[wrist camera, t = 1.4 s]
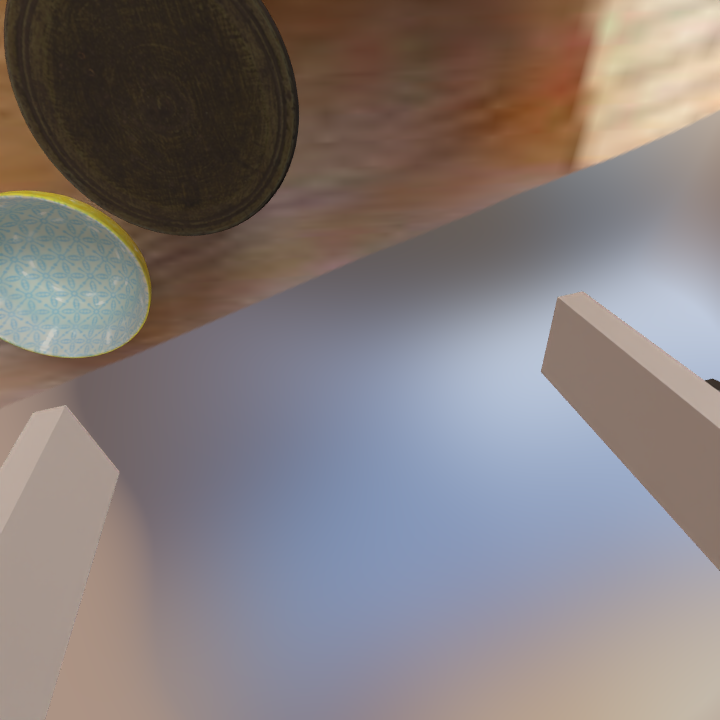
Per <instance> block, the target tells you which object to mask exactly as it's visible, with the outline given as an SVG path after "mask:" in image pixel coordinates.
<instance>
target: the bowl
mask: <svg viewBox="0 0 720 720" xmlns="http://www.w3.org/2000/svg"><path fill="white" fill-rule="evenodd" d="M150 303H151V281H150V276H149V272H148V269H147V265H146V262H145V259H144V257H143V255H142V253H141V252H140V250H139V249H138V247H137V245H136V244H135V242H134V241H133V240H132V239H131V237H130V236H129V235H128V234H127V233H126V231H125V230H123V229H122V228H121V227H120V226H119V225H118V224H117V223H116V222H115V221H113V220H112V219H111V218H110V217H108V216H107V215H105V214H104V213H102V212H101V211H99V210H97V209H95V208H94V207H92V206H90V205H88V204H86V203H84V202H81V201H78V200H76V199H73V198H71V197H67V196H64V195H59V194H54V193H48V192H40V191H11V192H4V193H0V339H2V340H4V341H6V342H8V343H10V344H12V345H15V346H17V347H20V348H22V349H25V350H28V351H31V352H35V353H38V354H43V355H47V356H53V357H63V358H85V357H92V356H98V355H102V354H105V353H108V352H111V351H113V350H116V349H118V348H119V347H121V346H123V345H124V344H126V343H128V342H129V341H130V340H131V339H132V338H134V337H135V335H136V334H137V333H138V332H139V331H140V330H141V328H142V327H143V325H144V323H145V321H146V319H147V316H148V313H149V309H150Z"/></svg>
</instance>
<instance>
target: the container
mask: <svg viewBox="0 0 720 720" xmlns="http://www.w3.org/2000/svg"><path fill="white" fill-rule="evenodd" d="M4 48H5V57H6V64H7V69H8V74H9V78H10V82H11V86H12V89H13V92H14V95H15V98H16V100H17V103H18V106H19V108H20V111H21V113H22V115H23V117H24V119H25V122H26V124H27V125H28V127H29V129H30V131H31V133H32V134H33V136H34V138H35V139H36V141H37V143H38V144H39V146H40V147H41V149H42V150H43V151H44V153H45V154H46V155H47V157H48V158H49V159H50V161H51V162H52V163H53V164H54V166H55V167H56V168H57V169H58V170H59V171H60V172H61V173H62V174H63V175H64V176H65V178H66V179H67V180H68V181H69V182H71V183H72V184H73V185H74V186H75V187H76V188H77V189H78V190H79V191H80V192H81V193H83V194H84V195H85V196H86V197H88V198H89V199H90V200H91V201H93V202H94V203H96V204H97V205H99V206H100V207H102V208H103V209H105V210H106V211H108V212H110V213H111V214H113V215H115V216H117V217H119V218H121V219H123V220H125V221H127V222H129V223H132V224H134V225H137V226H140V227H142V228H145V229H149V230H152V231H156V232H160V233H165V234H171V235H182V236H195V235H206V234H212V233H216V232H220V231H223V230H227V229H230V228H232V227H234V226H237V225H239V224H241V223H242V222H244V221H246V220H248V219H249V218H251V217H252V216H253V215H255V214H256V213H257V212H258V211H260V210H261V209H262V208H263V207H264V206H265V205H266V204H267V203H268V202H269V201H270V199H271V198H272V197H273V196H274V194H275V193H276V192H277V190H278V189H279V187H280V186H281V184H282V182H283V180H284V178H285V176H286V174H287V172H288V169H289V167H290V164H291V161H292V158H293V155H294V151H295V147H296V141H297V135H298V125H299V105H298V95H297V88H296V82H295V77H294V73H293V69H292V65H291V62H290V59H289V56H288V53H287V50H286V47H285V45H284V42H283V40H282V37H281V35H280V33H279V31H278V29H277V27H276V25H275V23H274V21H273V19H272V17H271V15H270V14H269V12H268V10H267V9H266V7H265V6H264V4H263V2H262V1H261V0H7V4H6V11H5V20H4Z"/></svg>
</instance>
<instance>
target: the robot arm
mask: <svg viewBox="0 0 720 720" xmlns="http://www.w3.org/2000/svg"><path fill="white" fill-rule="evenodd" d="M541 372H542V373H543V375H544V376H545V377H546V378H547V379H548V380H549V381H550V382H551V383H552V385H553V386H554V387H555V388H556V389H557V390H558V391H559V392H560V393H561V395H562V396H563V397H564V398H565V399H566V400H567V401H568V402H569V404H570V405H571V406H572V407H573V408H574V409H575V410H576V411H577V412H578V413H579V415H580V416H581V417H582V418H583V419H584V420H585V421H586V422H587V424H589V426H590V427H591V428H592V429H593V430H594V431H595V432H596V434H597V435H598V436H599V437H600V438H601V439H602V440H603V441H604V443H605V444H606V445H607V446H608V447H609V448H610V449H611V450H612V451H613V453H614V454H615V455H616V456H617V457H618V458H619V459H620V460H621V461H622V463H623V464H624V465H625V466H626V467H627V468H628V469H629V470H630V471H631V473H632V474H633V475H634V476H635V477H636V478H637V479H638V480H639V481H640V483H641V484H642V485H643V486H644V487H645V488H646V489H647V490H648V491H649V493H650V494H651V495H652V496H653V497H654V498H655V499H656V500H657V501H658V503H659V504H660V505H661V506H662V507H663V508H664V509H665V510H666V511H667V513H668V514H669V515H670V516H671V517H672V518H673V519H674V520H675V522H676V523H677V524H678V525H679V526H680V527H681V528H682V529H683V530H684V532H685V533H686V534H687V535H688V536H689V537H690V538H691V539H692V540H693V542H694V543H695V544H696V545H697V546H698V547H699V548H700V549H701V551H702V552H703V553H704V554H705V555H706V556H707V557H708V558H709V559H710V561H711V562H712V563H713V564H714V565H715V566H716V567H717V568H718V569H719V571H720V382H719V381H716V380H714V379H709V380H705V381H704V380H703V379H701V378H700V377H699V376H697V375H696V374H695V373H693V372H692V371H690V370H689V369H688V368H686V367H685V366H684V365H682V364H681V363H680V362H678V361H677V360H675V359H674V358H673V357H671V356H670V355H669V354H667V353H666V352H665V351H663V350H662V349H661V348H659V347H658V346H656V345H655V344H654V343H652V342H651V341H649V340H648V339H647V338H646V337H644V336H643V335H641V334H640V333H639V332H637V331H636V330H635V329H633V328H632V327H631V326H629V325H628V324H626V323H625V322H624V321H622V320H621V319H620V318H618V317H617V316H616V315H614V314H613V313H611V312H610V311H609V310H607V309H606V308H605V307H603V306H602V305H601V304H599V303H598V302H596V301H595V300H593V299H592V298H591V297H590V296H588V295H587V294H586V293H584V292H579V293H574V294H570V295H565V296H561V297H558V298H557V302H556V307H555V311H554V316H553V320H552V325H551V330H550V334H549V338H548V343H547V348H546V351H545V356H544V361H543V365H542V369H541ZM119 473H120V472H119V471H118V469H117V468H116V467H115V466H114V464H113V463H112V462H111V461H110V459H109V458H108V457H107V456H106V454H105V453H104V452H103V451H102V450H101V448H100V447H99V446H98V444H97V443H96V442H95V441H94V439H93V438H92V437H91V436H90V434H89V433H88V432H87V431H86V429H85V428H84V427H83V426H82V424H81V423H80V422H79V421H78V420H77V418H76V417H75V416H74V414H73V413H72V412H71V411H70V409H69V408H68V407H67V406H66V405H65V406H60V407H55V408H51V409H46V410H42V411H37V412H33V414H32V416H31V417H30V419H29V421H28V422H27V424H26V426H25V428H24V429H23V431H22V433H21V434H20V436H19V438H18V439H17V441H16V443H15V445H14V446H13V448H12V450H11V452H10V453H9V455H8V457H7V458H6V460H5V462H4V464H3V465H2V467H1V469H0V720H45V718H46V715H47V712H48V709H49V705H50V702H51V698H52V695H53V692H54V689H55V685H56V682H57V679H58V675H59V672H60V669H61V665H62V662H63V659H64V655H65V652H66V649H67V646H68V642H69V639H70V635H71V632H72V629H73V626H74V622H75V619H76V615H77V612H78V609H79V606H80V602H81V599H82V596H83V592H84V589H85V586H86V582H87V579H88V576H89V573H90V569H91V565H92V563H93V559H94V556H95V553H96V549H97V546H98V543H99V539H100V536H101V533H102V529H103V526H104V523H105V519H106V516H107V513H108V509H109V506H110V503H111V499H112V496H113V493H114V489H115V486H116V483H117V480H118V476H119Z"/></svg>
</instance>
